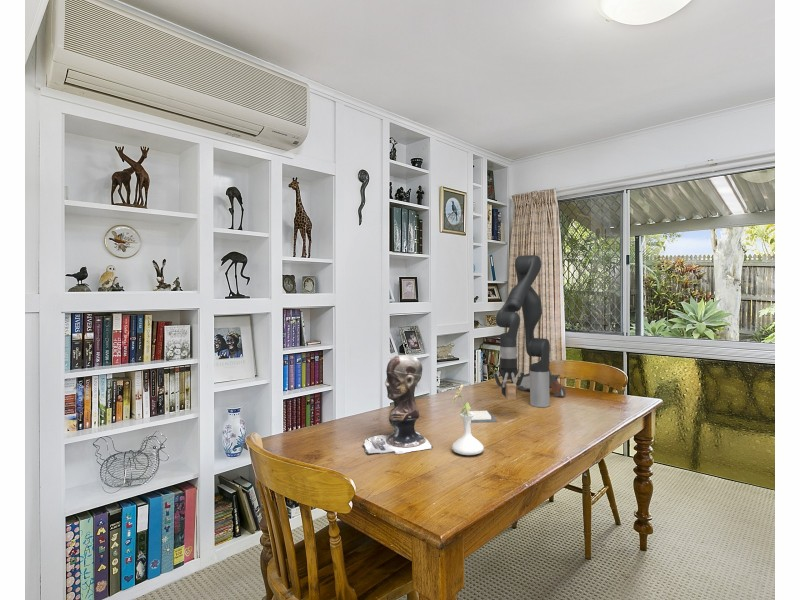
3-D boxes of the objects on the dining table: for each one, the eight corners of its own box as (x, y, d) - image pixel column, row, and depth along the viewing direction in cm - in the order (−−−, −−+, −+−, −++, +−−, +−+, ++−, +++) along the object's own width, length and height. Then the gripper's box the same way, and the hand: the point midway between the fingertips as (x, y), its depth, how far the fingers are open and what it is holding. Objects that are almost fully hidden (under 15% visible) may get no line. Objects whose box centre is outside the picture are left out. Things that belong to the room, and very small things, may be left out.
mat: (460, 413, 210) (460, 412, 210) (490, 413, 210) (490, 412, 210) (465, 422, 196) (465, 421, 196) (497, 421, 196) (497, 420, 196)
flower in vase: (462, 444, 169) (461, 378, 168) (489, 450, 161) (488, 381, 161) (443, 454, 158) (441, 384, 158) (471, 462, 151) (469, 388, 151)
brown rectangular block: (502, 394, 204) (502, 380, 203) (510, 393, 204) (509, 380, 203) (507, 399, 194) (507, 385, 193) (515, 399, 194) (515, 385, 193)
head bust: (354, 438, 176) (361, 350, 176) (413, 436, 185) (420, 351, 185) (370, 458, 156) (378, 358, 156) (435, 455, 165) (443, 360, 165)
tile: (467, 411, 206) (470, 416, 197) (486, 410, 206) (491, 416, 197) (467, 415, 206) (470, 420, 197) (487, 414, 206) (491, 420, 197)
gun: (526, 400, 257) (520, 374, 260) (567, 394, 236) (560, 366, 239) (521, 401, 254) (514, 375, 257) (562, 396, 233) (554, 367, 236)
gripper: (521, 355, 202) (522, 393, 202) (490, 355, 202) (491, 393, 202) (526, 357, 195) (527, 397, 195) (494, 358, 195) (494, 397, 195)
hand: (508, 395), depth 199 cm, fingers closed on brown rectangular block, 3 cm apart
